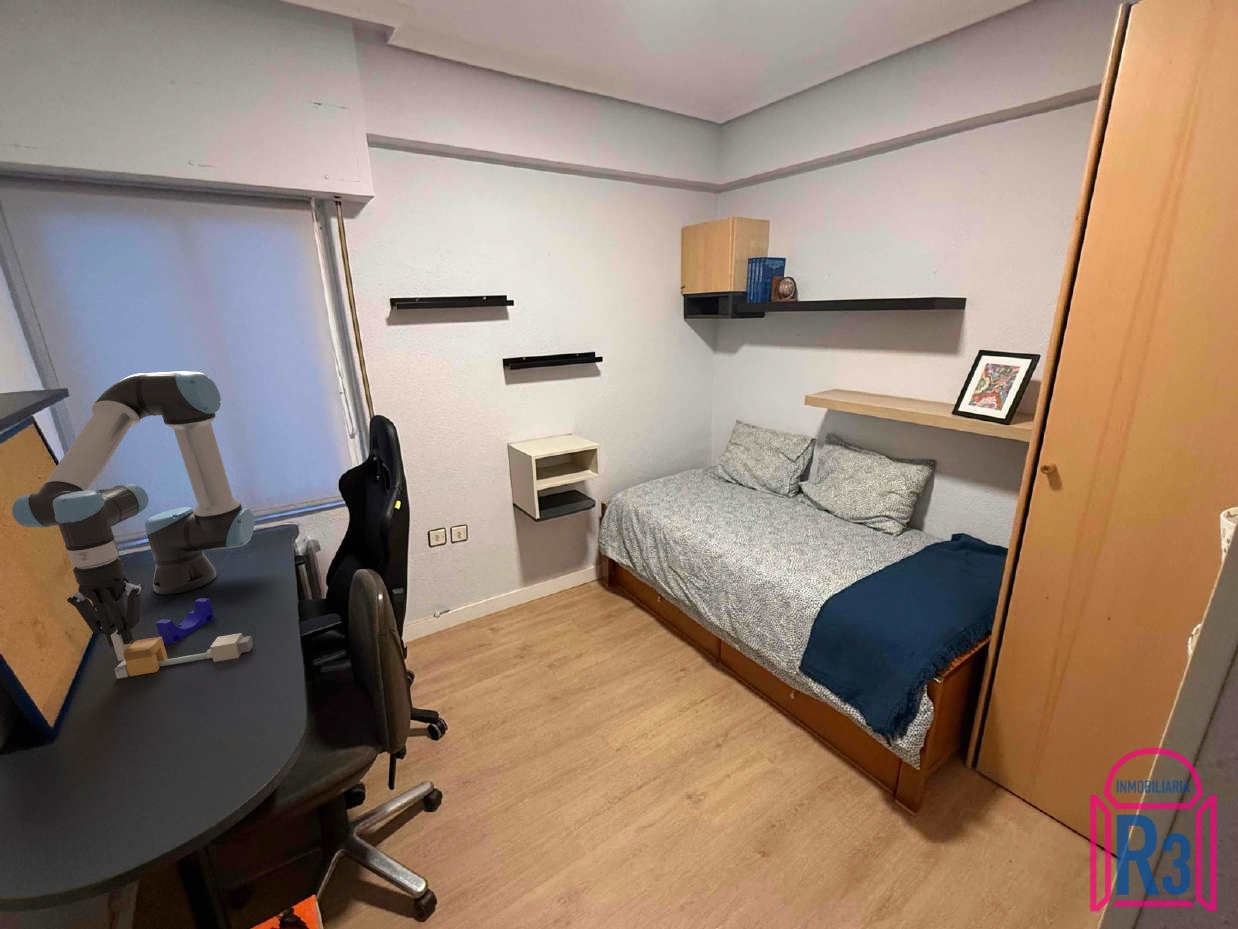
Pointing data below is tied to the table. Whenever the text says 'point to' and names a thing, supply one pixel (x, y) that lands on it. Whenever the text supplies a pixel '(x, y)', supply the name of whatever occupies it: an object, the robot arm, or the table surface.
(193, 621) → the cable clip
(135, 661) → the sleeve
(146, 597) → the table surface
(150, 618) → the table surface
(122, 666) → the cord run
